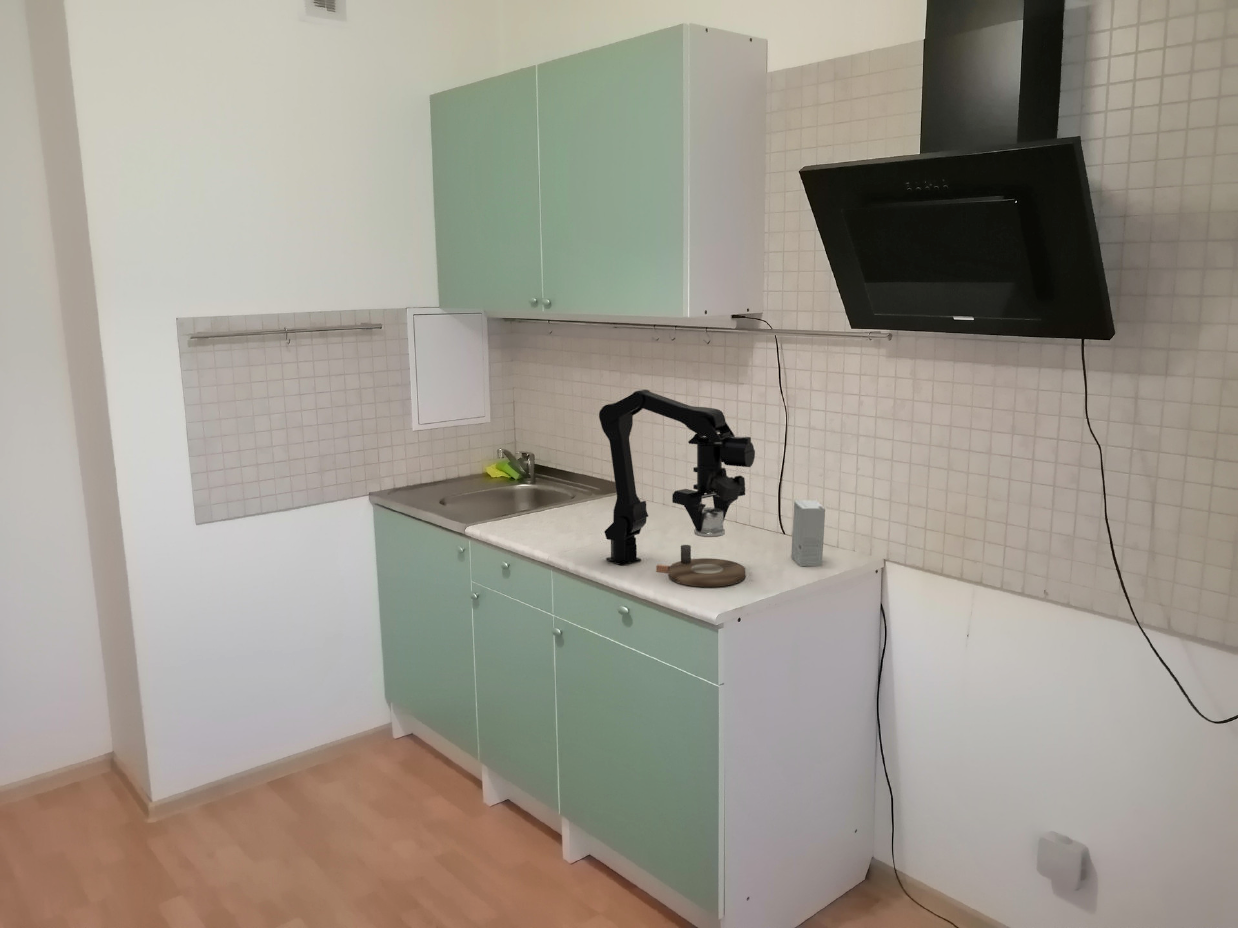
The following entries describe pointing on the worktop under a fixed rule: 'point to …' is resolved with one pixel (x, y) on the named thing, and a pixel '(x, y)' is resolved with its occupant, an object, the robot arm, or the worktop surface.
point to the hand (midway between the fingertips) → (709, 528)
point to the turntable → (705, 571)
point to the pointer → (662, 568)
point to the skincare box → (808, 533)
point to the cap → (711, 523)
